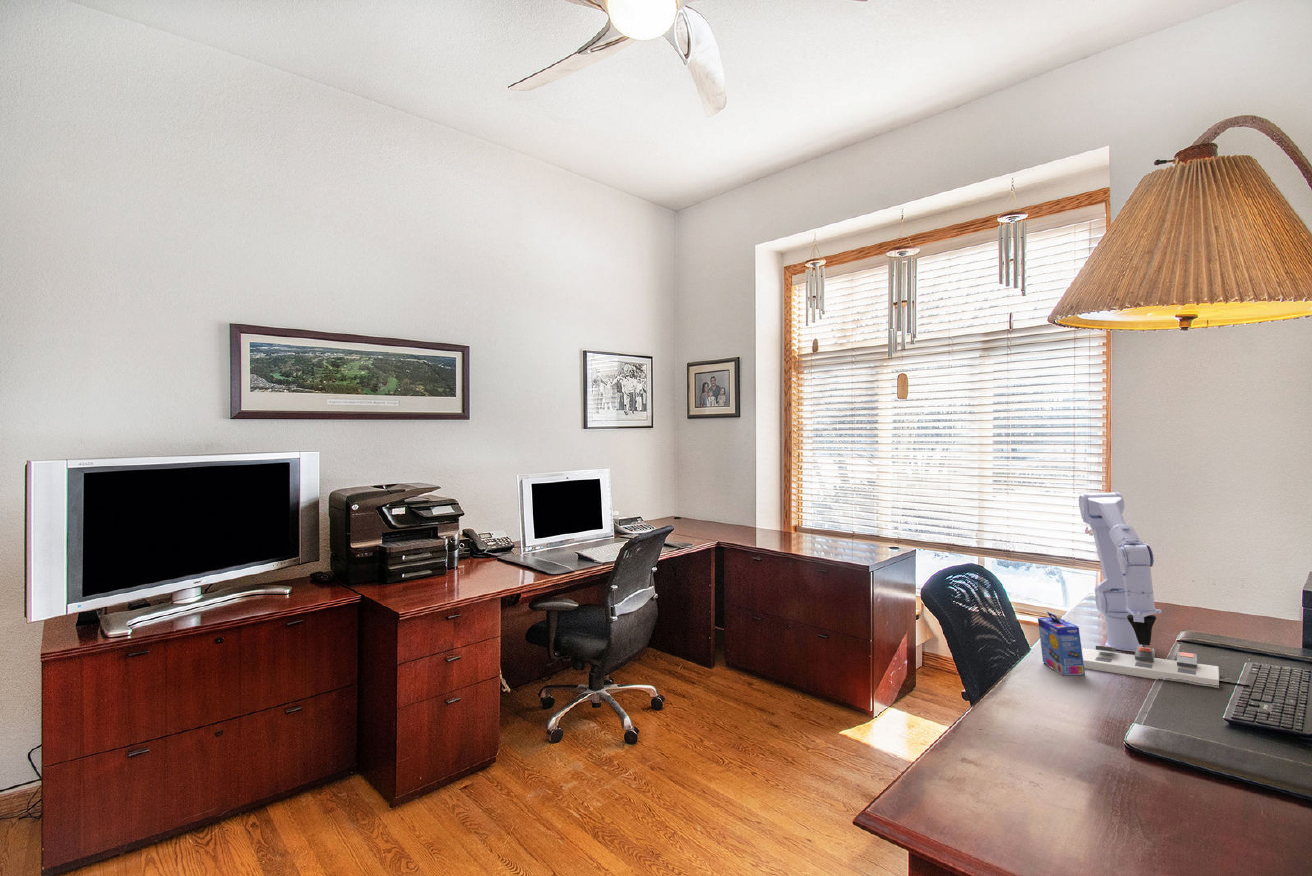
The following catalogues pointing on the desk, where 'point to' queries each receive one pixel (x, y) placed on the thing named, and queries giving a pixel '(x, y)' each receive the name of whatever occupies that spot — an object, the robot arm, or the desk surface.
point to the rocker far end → (1106, 648)
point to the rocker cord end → (1187, 659)
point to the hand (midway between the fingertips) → (1144, 644)
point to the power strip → (1148, 667)
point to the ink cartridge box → (1061, 645)
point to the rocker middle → (1144, 654)
